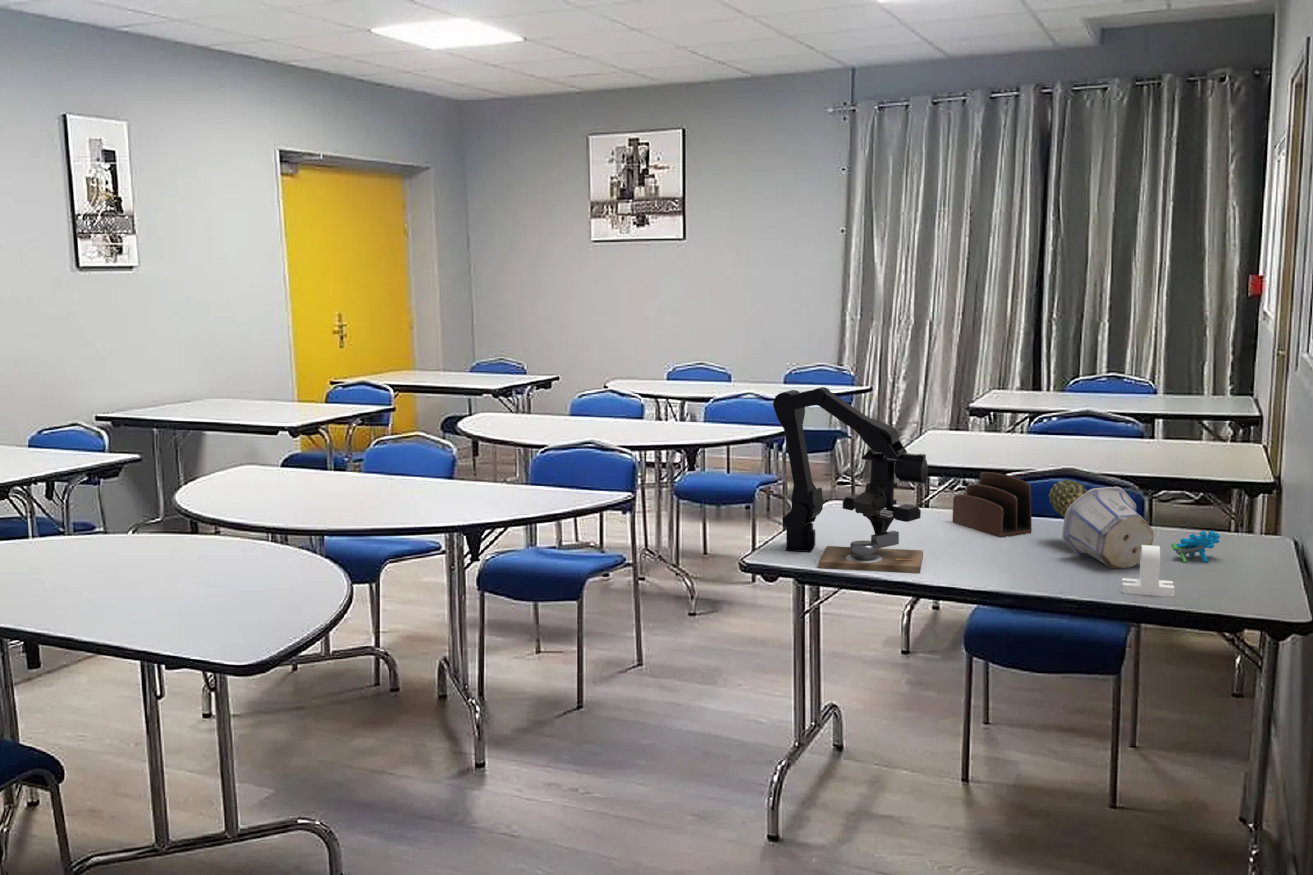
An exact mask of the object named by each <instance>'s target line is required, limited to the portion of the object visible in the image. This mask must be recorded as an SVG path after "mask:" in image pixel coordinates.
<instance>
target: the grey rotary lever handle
mask: <svg viewBox="0 0 1313 875" xmlns="http://www.w3.org/2000/svg"><path fill="white" fill-rule="evenodd" d="M899 540H900V532H899V531H896V530H890V531H886V532H884V533H879V534H875V533H874V534H871V535H870V540H853V541H851V542H850V546H849V547H850V556H851V557H852V558H854V559H859V560H871V559H876V558H878V548H882V549H884V548H887V547H892V546H896V545H899V543H900V541H899Z"/></svg>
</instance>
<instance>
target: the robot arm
mask: <svg viewBox="0 0 1313 875" xmlns="http://www.w3.org/2000/svg"><path fill="white" fill-rule="evenodd" d="M815 405H817V406H819V407H820V408H821V409H823V410H824V411H826V413H829V414H830V415H832V416H833V417H835V418H836V419H837V420H839V421H840V422H842V423H843V424H845V425H846V426H848V427H849V428H850V429H852V430H854V431H855V432H856V433H857V434H858V435H859V437H860V438H861V440H862V441H863V443H865V445H867V446H868V447H869V448H870V449H868V450H867V452H866V453H865V454H864V455H862V456H861V459H862V460H864V461H865V460H866V461H870V463H869V464H870V466H869V468H870V470H869V482H867V483H866V485H865V489H864V492H861V493H860V494H853V495H849V496H845V497H844V499H843V501H842V509H843V510H847V511H855V513H856V514H862V516H863V517H866V519H867V520H869V521H870V524H871V526H872V529H873V532H874V534H879V533H884V532H888V530H889V528H890V526H891V524H892V522H893V521H894V519H895V521H900V522H903V523H904V522H905V523H906V522H907V523H908V522H913V521H915V520H919V519H921V515H922V514H921V513H922V512H921V509H920V508H919V506H917V505H912V504H907V503H905V504H902V505H898V506H895V505H897V499H894V497H895V496H894V495H895V494H894V493H895V492H894V491H895V489H896V488H898V483H897V482H895V478H896V479H898V480H899V482H904V483H905V482H906V483H913V484H922V485H923V484H925V483H926V482H927V480H928V475H929V466H928V461H927V459H926V457H927V456H926V453H925V454H924V453H918V454H916V453H915V454H914V453H908V452H907V450H906V448H905V446H904V445H903V444H902V442H901V441H900V439H899V438H900V436H899V432H898V430H897V429H896V428H895V427H893V426H892V425H890V424H887V423H885V422H883V421H880V420H878V419H874V418H872V417H869V416H867V415H866V414H864V413H862V412H861V411H860V410H858V409H857V408H855V407H854V406H853V405H851V404H849V403H848V402H846V401H845V400H843V399H842V398H841V397H839V396H838V395H836V394H835V393H833V392H832V391H831V390H830V389H829V388H828V387H825V386H821V387H817V388H814V389H810V390H807V391H801V392H800V391H798V390H796V389H791V390H788V391H787V390H786V391H784V392H780V393H778V394H777V395H776V396H775V397H774V399H773V402H772V407H773V409H774V412H775V415H776V416H775V417H776V420H778V422H779V424H780V425H781V427H782V428H783V431H784V436H785V443H786V448H787V453H788V454H787V455H788V459H789V466H790V472H791V477H792V483H793V488H792V493H791V504H790V506H791V508H790V509H791V510H790V511H789V512H788V513H787V514H786V515H784V516H783V517H782V520H781V521H782V522H783V526H784V527H785V528H786V529H785V530H786V531H785V532H786V535H785V536H786V538H785V539H786V546H785V548H784V550H785V551H787V550H790V552H810V553H811V552H812V551H813V549H814V548H815V546H816V529H815V528H814V523H813V522H815V521H816V518H817V516H819V515H820V514H821V512H822V511H823V506H824V505H823V504H825V503H826V502H825V500H824V497H823V488H822V487H816V485H815V483H814V482H813V479H812V478H813V477H812V473H811V472H812V471H811V467H810V460H809V455H808V451H807V450H808V449H807V444H806V443H807V442H806V438H805V432H804V427H803V426H804V425H803V424H804V418H805V416H806V415H805V414H806V407H807V408H809V407H811V406H815Z"/></svg>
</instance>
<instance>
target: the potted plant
mask: <svg viewBox="0 0 1313 875" xmlns="http://www.w3.org/2000/svg"><path fill="white" fill-rule="evenodd" d="M1085 487H1086V486H1085V485H1084V484H1081V483H1079V482H1078V481H1074V480H1070V479H1063V480H1062V481H1060V480H1059V481H1058V482H1057V483H1055V484H1053V486H1052V487H1051V489H1050V491H1049V494H1048V497H1049V499H1050V500H1049V503H1050V504H1051V506H1052V508H1053V509H1054V513H1055V512H1056V513H1058V514H1059V515H1060V516H1062V517H1063V518H1064V519H1063V526H1062V539H1063V541H1065V543H1066V545H1068V546H1069V547H1070V549H1071V550H1072V551H1073V552H1074V553H1075V554H1076V555H1077V556H1079V557H1080V556H1091V557H1092V558H1094V559H1096V560H1098V561H1100V563H1102V564H1104V565H1105V566H1107V567H1108V568H1111V569H1118V570H1119V569H1127V568H1133V567H1135V566H1136V565H1137V564H1138V563H1140V554H1141V545H1152V546H1153V542H1154V538H1155V535H1154V534H1155V533H1154V530H1153V528H1152V527H1151V526H1150V524H1149V523H1148V522H1147V521H1146V520H1145V519H1144V518H1143V516H1142V515H1140V514H1139V513H1138V512H1137V504H1136V503H1135V501H1134V500H1133V499H1132V498H1131V497H1130V495H1129V494H1128V493H1127V492H1126V491H1125V490H1124V489H1123V488H1122V487H1120V486H1113V487H1112V486H1107V487H1106V486H1105V487H1104V486H1103V487H1094V488H1090V489H1089V490H1087V489H1086V488H1085Z"/></svg>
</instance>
